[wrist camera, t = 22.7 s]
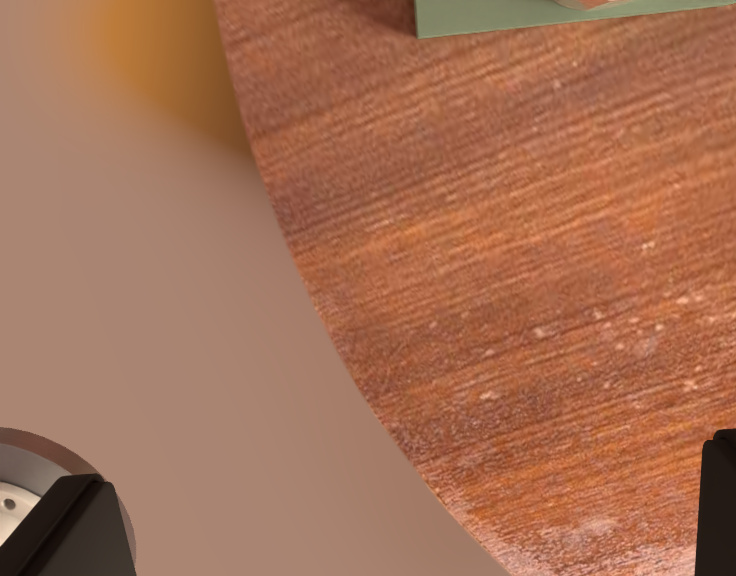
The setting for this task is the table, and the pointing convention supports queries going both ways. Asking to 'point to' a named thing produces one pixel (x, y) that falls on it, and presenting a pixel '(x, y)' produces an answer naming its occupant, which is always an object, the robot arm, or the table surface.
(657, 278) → the table surface
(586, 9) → the white bowl
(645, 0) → the scale
